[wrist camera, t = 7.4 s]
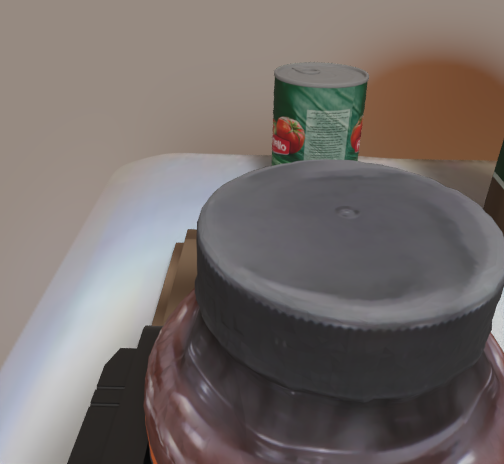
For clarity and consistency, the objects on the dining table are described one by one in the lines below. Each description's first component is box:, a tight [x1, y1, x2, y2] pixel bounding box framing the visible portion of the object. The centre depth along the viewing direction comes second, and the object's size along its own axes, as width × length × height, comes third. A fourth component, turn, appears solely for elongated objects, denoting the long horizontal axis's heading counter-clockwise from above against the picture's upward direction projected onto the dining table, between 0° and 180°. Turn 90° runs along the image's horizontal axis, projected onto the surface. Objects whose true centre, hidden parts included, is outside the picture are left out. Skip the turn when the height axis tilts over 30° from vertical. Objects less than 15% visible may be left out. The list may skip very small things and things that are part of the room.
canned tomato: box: [272, 62, 369, 166], centre depth 43 cm, size 8×8×11 cm
